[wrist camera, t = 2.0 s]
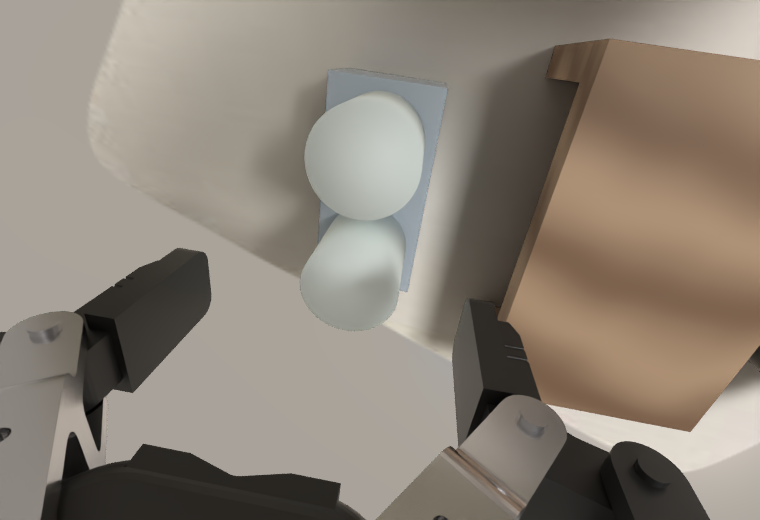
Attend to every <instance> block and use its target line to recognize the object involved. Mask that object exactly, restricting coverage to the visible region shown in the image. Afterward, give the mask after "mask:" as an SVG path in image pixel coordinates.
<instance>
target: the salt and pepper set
mask: <svg viewBox="0 0 760 520" xmlns="http://www.w3.org/2000/svg"><path fill="white" fill-rule="evenodd" d="M447 91H448V87H447V85H446V83H443V82H437V81H430V80H423V79H417V78H410V77H404V76H397V75H391V74H384V73H378V72H371V71H365V70H358V69H352V68H345V69H333V70H328V80H327V97H326V113H324V114H323V115H322V116H321V117H320V118H319V119H318V120H317V122H316V123H315V124H314V126H313V128H312V129H311V131H310V133H309V136H308V139H307V142H306V146H305V154H304V159H305V169H306V173H307V177H308V180H309V182H310V184H311V186H312V188H313V190H314V192H315V193H316V194H317V196H318V197H319V198H320V216H319V233H318V246H317V247H316V249H315V250H314V252H313V253H312V255H311V257H310V258H309V260H308V261H307V263H306V264H305V266H304V268H303V270H302V273H301V277H300V290H301V294H302V297H303V299H304V301H305V303H306V305H307V307H308V308H309V309H310V310H311V312H312V313H313V314H314V315H315V316H316V317H317V318H319V319H320V320H321V321H323V322H325V323H326V324H328V325H330V326H332V327H335V328H338V329H342V330H348V331H363V330H368V329H371V328H374V327H376V326H378V325H380V324H382V323H383V322H385V321H386V320H387V319H388V318H389V317H390V316H391V314H392V313H393V311H394V310H395V307H396V305H397V301H398V296H399V291H404V292H408V287H409V282H410V277H411V272H412V267H413V262H414V257H415V252H416V247H417V241H418V236H419V231H420V226H421V221H422V216H423V211H424V206H425V201H426V196H427V191H428V186H429V181H430V176H431V171H432V166H433V161H434V156H435V151H436V146H437V141H438V136H439V131H440V126H441V121H442V116H443V111H444V106H445V101H446V96H447Z"/></svg>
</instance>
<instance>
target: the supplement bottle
mask: <svg viewBox="0 0 760 520" xmlns="http://www.w3.org/2000/svg"><path fill="white" fill-rule="evenodd" d="M748 360H749V362H750V363H751V364H752V365H753V366H754V367H755V368H756V369H757V370H758V371H759V372H760V346H759V347H758V348H757V349H756V351H755V352H754V353H753V354H752V356H751V357H750V358H749V359H748Z"/></svg>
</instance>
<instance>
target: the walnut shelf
mask: <svg viewBox="0 0 760 520" xmlns="http://www.w3.org/2000/svg"><path fill="white" fill-rule="evenodd" d="M546 78H552V79H559V80H566V81H572V82H579V86H578V89H577V92H576V95H575V98H574V100H573V103H572V106H571V109H570V112H569V115H568V118H567V120H566V123H565V126H564V129H563V132H562V135H561V138H560V140H559V143H558V146H557V149H556V152H555V155H554V158H553V160H552V163H551V166H550V169H549V172H548V175H547V178H546V180H545V183H544V186H543V189H542V192H541V195H540V198H539V200H538V203H537V206H536V209H535V212H534V215H533V217H532V220H531V223H530V226H529V229H528V232H527V235H526V237H525V240H524V243H523V246H522V249H521V252H520V255H519V257H518V260H517V263H516V266H515V269H514V272H513V275H512V277H511V280H510V283H509V286H508V289H507V292H506V295H505V297H504V300H503V303H502V306H501V308H499V307H495V311H496V315H497V319H498V321H503V322H509V323H510V324H511V326H512V327H513V328H514V329H515V330H516V331H517V332H518V334H519V335H520V337H521V340H522V343H523V346H524V351H525V352H526V355H527V358H528V360H527V362H529V364H530V368H531V371H532V374H533V377H534V380H535V383H536V386H537V389H538V392H539V395H540V398H541V401H542V402H543V403H545V404H549V405H554V406H559V407H564V408H569V409H575V410H580V411H585V412H590V413H595V414H600V415H606V416H611V417H616V418H621V419H626V420H631V421H636V422H642V423H647V424H652V425H657V426H662V427H667V428H672V429H678V430H683V431H688V432H691V430H692V429H693V428H694V427H695V425H696V424H697V423H698V422H699V420H700V419H701V418H702V417H703V415H704V414H705V413H706V412H707V411H708V409H709V408H710V407H711V406H712V404H713V403H714V402H715V401H716V399H717V398H718V397H719V396H720V394H721V393H722V392H723V391H724V389H725V388H726V387H727V386H728V384H729V383H730V382H731V381H732V379H733V378H734V377H735V376H736V374H737V373H738V372H739V371H740V369H741V368H742V367H743V366H744V364H745V363H746V362H747V361H748V359H749V358H750V357H751V356H752V354H753V353H754V352H755V351H756V349H757V348H758V347H759V346H760V60H754V59H747V58H740V57H733V56H726V55H719V54H712V53H705V52H698V51H691V50H684V49H678V48H671V47H664V46H657V45H650V44H643V43H636V42H629V41H622V40H615V39H604V40H597V41H589V42H581V43H574V44H566V45H558V46H555V49H554V52H553V55H552V58H551V62H550V65H549V68H548V71H547V75H546Z"/></svg>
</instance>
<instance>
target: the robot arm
mask: <svg viewBox="0 0 760 520" xmlns="http://www.w3.org/2000/svg"><path fill="white" fill-rule="evenodd" d="M210 302H211V288H210V278H209V267H208V259H207V256H206V254H205V253H204V252H200V251H194V250H188V249H182V248H177V249H175V250H174V251H172V252H171V253H169V254H168V255H166V256H165V257H164V258H162V259H161V260H159V261H155V262H153V263H150V264H148V265H145V266H142V267H139V268H138V269H137V270H135V271H134V272H132V273H131V274H129V275H128V276H126V279H122V280H120V281H119V282H117V283H116V284H115V286H114V287H113V286H111V287H110V288H109V289H107V290H106V291H104V292H103V293H101V294H100V295H98V296H97V297H96V298H94V299H93V300H91V301H89V302H88V303H87V304H85V305H84V306H82V307H81V308H79V309H78V310H76V311H75V312H66V311H59V312H49V313H44V314H40V315H36V316H33V317H30V318H28V319H26V320H23V321H21V322H19V323H17V324H16V325H15V326H13V327H12V328H10V329H9V330H8V331H7V332H0V520H365V519H364V518H363V517H362V516H361V515H360V514H359V513H358V512H356V511H355V510H353V509H352V508H351V507H349V506H348V505H346V504H344V503H342V502H340V501H339V493H340V485H341V484H340V483H336V482H331V481H326V480H321V479H316V478H311V477H306V476H301V475H296V474H273V475H255V476H233V475H230V474H228V473H226V472H224V471H223V470H221V469H219V468H217V467H215V466H213V465H211V464H210V463H208V462H206V461H204V460H202V459H200V458H198V457H196V456H195V455H193V454H191V453H187V452H182V451H176V450H172V449H166V448H161V447H157V446H152V445H147V444H143V445H142V446H141V447H140V448H139V450H138V451H137V452H136V454H135V455H134V456H133V457H132V459H131V460H128V461H121V462H115V463H111V464H106V441H107V440H106V439H107V416H108V402H107V398H106V395H107V394H108V393H109V392H110V391H111V390H112V389H115V390H120V391H125V392H131V393H133V392H134V391H135V390H136V389H137V388H138V387H139V386H140V385H141V384H142V382H143V381H144V380H145V379H146V378H147V377H148V376H149V375H150V374H151V372H153V370H154V369H155V368H156V367H157V366H158V365H159V364H160V363H161V362H162V361H163V360H164V358H166V356H167V355H168V354H169V353H170V352H171V351H172V350H173V349H174V348H175V347H176V346H177V344H178V343H179V342H180V341H181V340H182V339H183V338H184V337H185V336H186V335H187V334H188V333H189V332H190V330H191V329H192V328H193V327H194V326H195V325H196V324H197V323H198V322H199V321H200V319H201V318H202V317H203V316H204V315H205V314H206V312H207V311H208V309H209V306H210ZM527 360H528V358H527V355H526V352H525V351H524V346H523V343H522V340H521V337H520V335H519V334H518V332H517V331H516V330H515V329H514V328H513V327H512V326H511V324H510V323H509V322H503V321H498V319H497V315H496V311H495V307H494V304H493V303H492V302H486V301H481V300H475V299H469V298H467V300H466V301H465V304H464V308H463V311H462V315H461V318H460V322H459V326H458V329H457V333H456V337H455V340H454V345H453V354H452V362H453V376H454V391H455V404H456V419H457V433H458V446H459V447H458V448H457V449H456V450H455V449H454V448H453V447H451V446H450V447H447V448H446V449H444V450H443V451H442V452H441V453H440V454H439V455H438V456H437V457H436V458H435V459H434V460H433V461H432V462H431V463H430V464H429V465H428V466H427V467H426V468H425V469H424V470H423V471H422V472H421V474H420V475H419V476H418V477H417V478H416V479H415V480H414V481H413V482H412V483H411V484H410V485H409V486H408V487H407V488H406V489H405V490H404V491H403V492H402V493H401V494H400V495H399V496H398V497H397V498H396V499H395V500H394V501H393V502H392V503H391V504H390V505H389V506H388V507H387V509H385V510H384V511H383V513H382V514H381V515H380V516H379V517H378V518H377V519H376V520H710V519H709V517H708V515H707V514H706V512H705V510H704V508H703V506H702V505H701V503H700V501H699V499H698V498H697V496H696V494H695V492H694V490H693V489H692V487H691V485H690V483H689V482H688V480H687V479H686V477H685V476H684V475H683V473H682V472H681V471H680V470H679V469H678V468H677V467H676V466H675V465H674V464H673V463H672V462H671V461H670V460H668V459H667V458H666V457H664V456H663V455H662V454H660V453H659V452H657V451H655V450H653V449H651V448H650V447H647V446H645V445H642V444H639V443H636V442H630V441H624V442H619V443H617V444H616V445H614V446H613V448H612V449H611V451H610V453H609V452H607V451H604V450H602V449H600V448H598V447H595V446H593V445H591V444H589V443H586V442H584V441H582V440H580V439H578V438H576V437H574V436H572V435H570V434H569V433H567V431H566V428H565V425H564V423H563V421H562V420H561V418H560V417H559V416H558V414H557V413H556V412H555V411H554V410H553V409H551V408H550V407H549V406H548V405H546V404H545V403H543V402H542V401H541V398H540V395H539V392H538V389H537V386H536V383H535V380H534V377H533V374H532V371H531V368H530V364H529V362H527Z"/></svg>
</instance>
